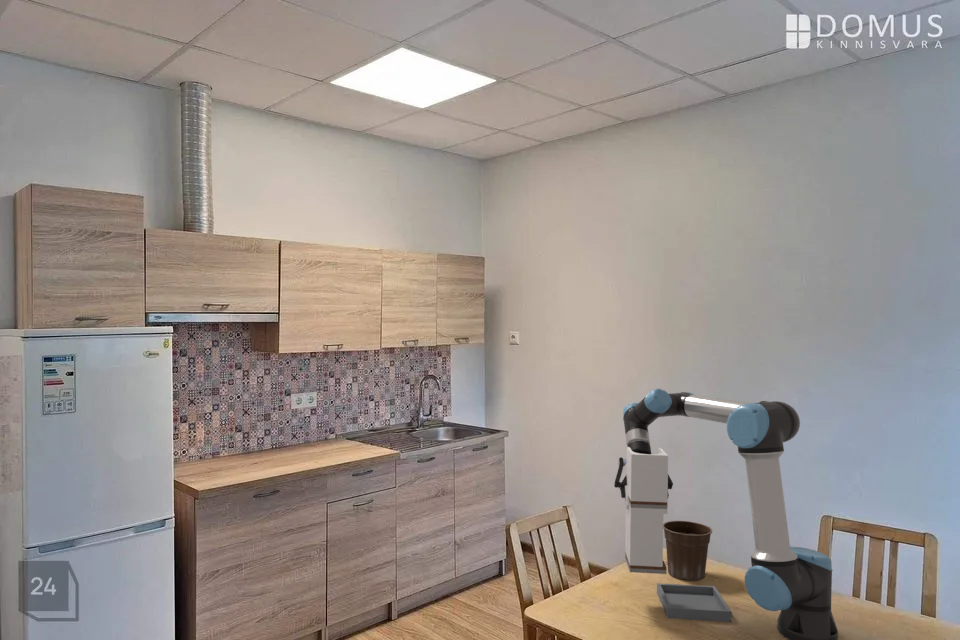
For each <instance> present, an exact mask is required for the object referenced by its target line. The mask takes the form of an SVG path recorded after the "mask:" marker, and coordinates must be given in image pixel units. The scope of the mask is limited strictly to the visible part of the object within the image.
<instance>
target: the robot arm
mask: <svg viewBox="0 0 960 640" xmlns="http://www.w3.org/2000/svg"><path fill="white" fill-rule="evenodd" d="M675 416H682V417H687V418H693V419H699V420H704V421H710V422H717V423H722V424H726V432H727V436H728V438H729V439H730V440H731V441H732V443H733V445H735V446H737V451H738V452H737V453H738V455H740V456H741V457H742V458H743V459H744V462H745V471H746V477H747V487H748V495H749V505H750V511H751V512H750V513H751V518H752V520H751V521H752V526H753V527H752V528H753V536H754V545H755V548H754V550H753V551H752V552H751V553H750V561H751V567H749V568H748V569H747V571H746V572H745V575H744V585H745V589H746V591H747V594H748V596H750V598H751V600H753V601H754V602H755V604H757V606H759V607H760V608H762V609H763V610H766V611H769V612H778V611H780V612H779V614H778V616H777V617H778V618H777V620H776V621H777V622H776V624H777V626H776V628H777V631H778V632H779V634H781V635H782V636H783V637H784V638H786V639H788V640H839V630H838V628H837V627H838V626H837V625H836V622H835V618H834V615H833V612H832V582H833V569H832V568H833V567H832V559H831V558H830V557H829V556H828V555H827V554H825V553H823V552H820V551H817V550H814V549H811V548H807V547H800V546H791V544H790V536H789V528H788V521H787V513H786V512H787V511H786V505H785V496H784V489H783V481H782V473H781V465H780V457H781V456H783V454H784V452H785V449H784V443H786V442H789V441H790V440H792V439H794V437H795V436H796V435H797V434H798V432H799V429H800V428H801V427H800V426H801V422H800V421H801V420H800V416H799V414H798V412H797V411H796V410H795V408H794V407H793V406H791V405H790V404H788V403H786V402H783V401H767V400H760V401H759V402H751V401H750V402H749V401H741V400H736V399H726V398H719V397H712V396H707V395H699V394H698V395H697V394H694V393H692V392H688V391H683V392H682V391H681V392H675V393H669V392H667V391H666V390H664V389H661V388H654V389H652V390H651V391H650V392H649V393H647V394H646V395H645V397H644V398H642V399H641V400H640V401H639V402H631V403H629V404H626V405H625V406H624V408H623V414H622V417H623V419H622V421H623V423H624V424H623V425H624V433H625V442H626V448H627V447H630V448H631V450H632V451H633V452H635V453H640V454H652V448H651V447H652V446H651V441H650V433H649V428H648V427H649V426H650V425H651V424H652V423H653V422H654V421H656V420H657V419H659V418H664V417H675ZM626 463H627V458H623V457H618V469H617V473H616V476H615V480H614V488H619V490H620V496H621V498H622V499H624V504H625V510H626V509H628V508H629V497H628V487H627V486H626V484H627V476H626V475H625V476H624V478H623V479H622V481H620V480H621V477H622V473H623V470H624V467H625V466H626ZM673 487H674V483H673V481H672V479H671V477H670V475H669V474H668V490H672V489H673ZM669 496H670V495H669V493H668V497H669Z"/></svg>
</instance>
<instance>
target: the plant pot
mask: <svg viewBox="0 0 960 640" xmlns="http://www.w3.org/2000/svg"><path fill="white" fill-rule="evenodd" d="M712 533H713V529H712V528H711V526H708V525H706V524H702V523H699V522H694V521H690V520H671V521H666V522H663V535H664V539H665V546H666V548H665V549H666V562H667V564H666V566H667V574H668V575H670V576H672V577H673V578H675V579H679V580H684V579H685V580H688V581H690V582H691V581H692V582H693V581H701V580H703V579H704V578H705V576H706V568H707V560H708V553H709V552H708V551H709V544H710V543H711V542H710V541H711V535H712Z"/></svg>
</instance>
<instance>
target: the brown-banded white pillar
mask: <svg viewBox="0 0 960 640" xmlns="http://www.w3.org/2000/svg"><path fill="white" fill-rule="evenodd" d="M626 459H627V463H626V465H625V466H626V468H625V469H626V471H625V472H626V474H625V476H627V484H626V486H627V487H628V497H629V508H628V509H626V508H625V536H624V537H625V539H624V540H625V543H624V545H625V551H624V559H625V562H626V565H627V568H628V570H629V571H628V572H629V573H636V574H639V573H640V574H658V575H659V574H660V575H667V574H668V566H667V564H666V563H665V560H664V528H663V524H664V515H667V514H668V499H669V496H668V494H669V489H668V475H669V454H667V452H665V450H664V449H662V447H658V451H657V454H656V453H654V454H653V453H651V454H640V453H635V452H633V451H632V450H631V448H630V447H627V446H626Z"/></svg>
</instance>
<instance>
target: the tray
mask: <svg viewBox="0 0 960 640" xmlns="http://www.w3.org/2000/svg"><path fill="white" fill-rule="evenodd" d="M656 595H657V597H658V599H659V601H660V604H661V606H662V608H663V611H664V613H665V616H666V618H667V619H668V620H669V619H671V620H672V619H673V620H686V621H687V620H688V621H689V620H690V621H691V620H693V621H708V622H727V623H728V622H729V623H732V610H731V609H730V607H729V606H728V604H727V602H726V601H725V599H724V597H723V596H722V595H721V594H720V592H719V590H718V589H717V588H716V585H700V584H699V585H698V584H696V585H694V584H693V585H692V584H678V583H677V584H675V583H656Z"/></svg>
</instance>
